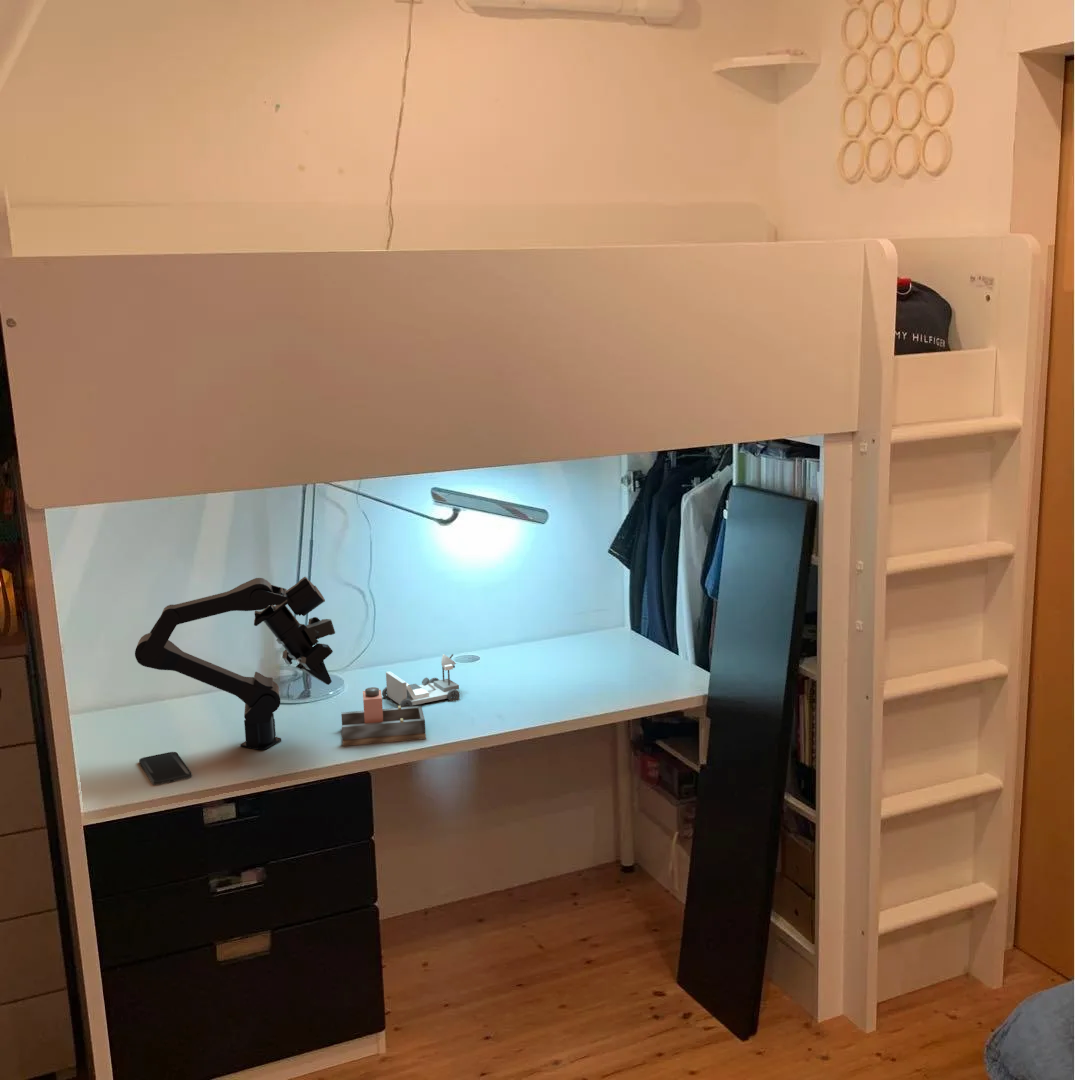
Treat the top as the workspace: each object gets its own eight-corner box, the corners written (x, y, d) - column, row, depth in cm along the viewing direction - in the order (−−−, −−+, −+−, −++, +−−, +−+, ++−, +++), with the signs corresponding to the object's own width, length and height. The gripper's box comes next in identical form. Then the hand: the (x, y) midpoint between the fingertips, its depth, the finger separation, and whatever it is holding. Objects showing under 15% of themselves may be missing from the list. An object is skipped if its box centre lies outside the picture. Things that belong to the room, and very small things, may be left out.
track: (342, 745, 250) (341, 726, 249) (342, 728, 261) (341, 709, 260) (425, 738, 253) (425, 719, 252) (421, 721, 264) (421, 703, 263)
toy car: (447, 648, 288) (468, 660, 278) (448, 686, 290) (469, 698, 280) (380, 660, 279) (399, 673, 269) (382, 699, 281) (401, 713, 271)
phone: (175, 750, 248) (192, 774, 235) (176, 755, 248) (193, 779, 235) (137, 758, 244) (152, 782, 231) (138, 763, 244) (153, 787, 231)
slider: (365, 734, 253) (363, 694, 251) (364, 725, 259) (362, 685, 257) (383, 732, 254) (381, 693, 252) (382, 723, 260) (380, 684, 258)
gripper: (328, 606, 244) (371, 662, 248) (302, 603, 260) (343, 656, 264) (287, 640, 239) (332, 697, 244) (264, 635, 256) (306, 688, 260)
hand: (329, 683), depth 253 cm, fingers closed
